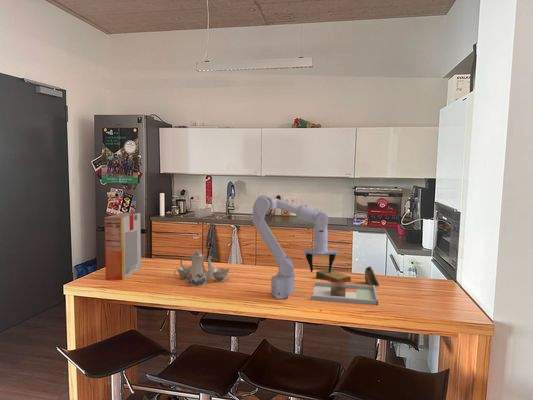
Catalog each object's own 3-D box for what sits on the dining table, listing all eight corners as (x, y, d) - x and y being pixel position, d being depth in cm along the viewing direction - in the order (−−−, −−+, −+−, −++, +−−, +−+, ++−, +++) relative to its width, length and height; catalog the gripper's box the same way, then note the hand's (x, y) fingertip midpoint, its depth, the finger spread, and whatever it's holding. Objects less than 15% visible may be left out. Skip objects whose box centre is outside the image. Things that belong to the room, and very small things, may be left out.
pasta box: (126, 267, 205) (125, 212, 203) (141, 267, 205) (140, 212, 202) (105, 279, 182) (104, 217, 180) (122, 280, 182) (121, 217, 180)
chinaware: (232, 281, 187) (232, 247, 188) (225, 288, 170) (226, 251, 171) (176, 279, 190) (177, 246, 190) (164, 285, 173) (165, 249, 174)
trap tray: (310, 303, 152) (311, 294, 152) (314, 288, 172) (315, 281, 171) (378, 308, 147) (378, 299, 147) (374, 293, 166) (374, 285, 166)
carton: (337, 287, 174) (337, 278, 174) (315, 279, 188) (315, 270, 188) (351, 285, 179) (351, 276, 178) (328, 276, 192) (328, 268, 192)
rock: (360, 276, 184) (356, 278, 175) (371, 263, 183) (368, 265, 173) (377, 292, 180) (374, 295, 171) (389, 279, 179) (387, 282, 170)
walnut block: (330, 295, 157) (330, 286, 157) (331, 291, 163) (331, 282, 163) (345, 296, 156) (345, 287, 156) (345, 292, 162) (345, 283, 162)
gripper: (302, 241, 157) (302, 273, 158) (337, 242, 154) (337, 275, 155) (304, 238, 164) (304, 269, 165) (338, 239, 161) (338, 270, 162)
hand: (320, 271), depth 161 cm, fingers open, 7 cm apart
